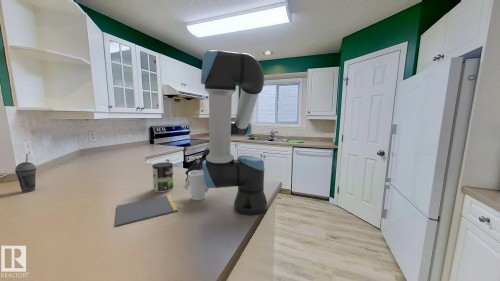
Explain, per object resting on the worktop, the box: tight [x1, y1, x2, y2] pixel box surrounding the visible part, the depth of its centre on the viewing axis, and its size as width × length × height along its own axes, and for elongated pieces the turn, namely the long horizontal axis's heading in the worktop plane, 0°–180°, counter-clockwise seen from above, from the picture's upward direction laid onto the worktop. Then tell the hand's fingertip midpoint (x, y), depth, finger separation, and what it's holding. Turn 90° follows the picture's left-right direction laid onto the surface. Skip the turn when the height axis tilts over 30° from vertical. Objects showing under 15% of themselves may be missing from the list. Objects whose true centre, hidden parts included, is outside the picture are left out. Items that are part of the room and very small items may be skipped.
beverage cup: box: [14, 153, 37, 194], centre depth 99 cm, size 7×7×20 cm
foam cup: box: [188, 169, 206, 201], centre depth 95 cm, size 10×9×13 cm
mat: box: [115, 194, 179, 227], centre depth 83 cm, size 18×22×1 cm
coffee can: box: [152, 161, 175, 193], centre depth 105 cm, size 10×10×14 cm
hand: (195, 189), depth 92 cm, fingers open, 10 cm apart
